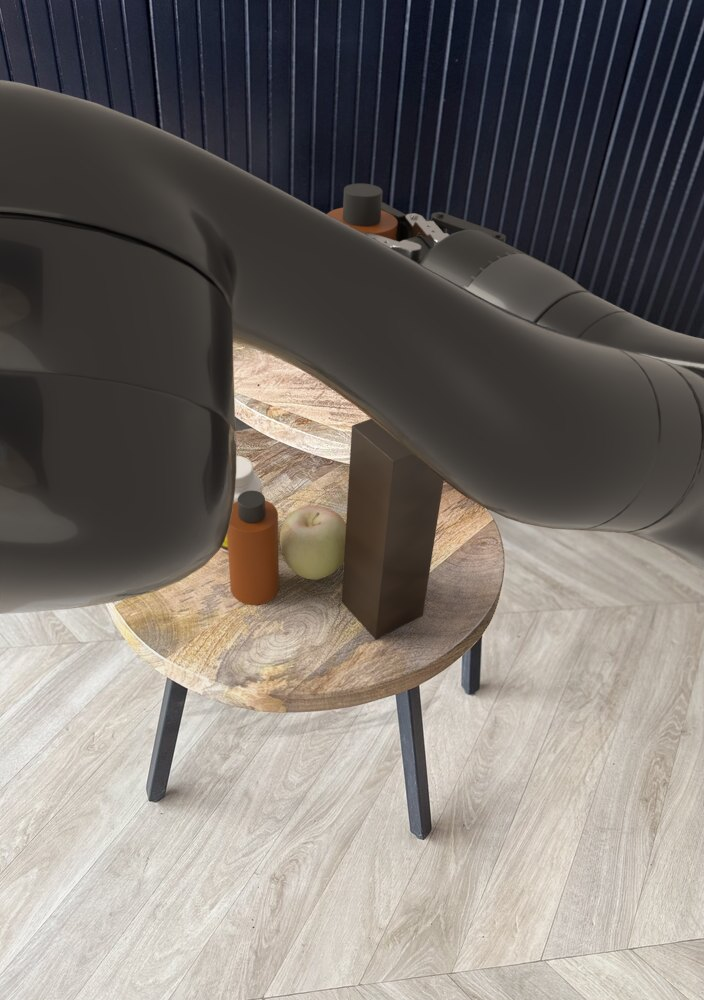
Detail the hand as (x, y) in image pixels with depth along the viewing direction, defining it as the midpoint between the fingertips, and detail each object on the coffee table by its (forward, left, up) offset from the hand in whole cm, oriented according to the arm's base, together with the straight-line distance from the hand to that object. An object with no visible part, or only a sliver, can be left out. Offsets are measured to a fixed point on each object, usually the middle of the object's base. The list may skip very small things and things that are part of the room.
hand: (338, 221), depth 57 cm
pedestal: (+5, -4, -40) cm, 40 cm away
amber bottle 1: (-5, +6, -40) cm, 40 cm away
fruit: (+2, +5, -40) cm, 40 cm away
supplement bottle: (-3, +13, -40) cm, 42 cm away
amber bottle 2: (0, -3, -9) cm, 9 cm away
